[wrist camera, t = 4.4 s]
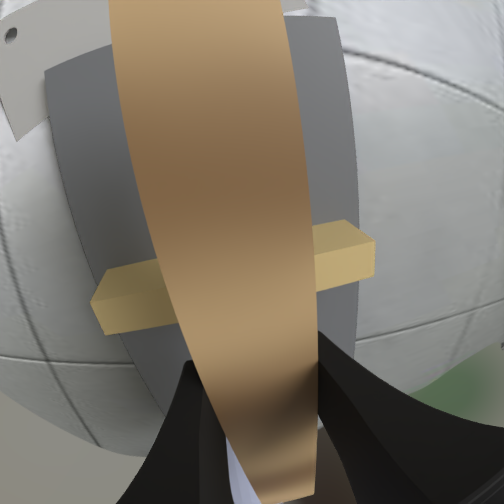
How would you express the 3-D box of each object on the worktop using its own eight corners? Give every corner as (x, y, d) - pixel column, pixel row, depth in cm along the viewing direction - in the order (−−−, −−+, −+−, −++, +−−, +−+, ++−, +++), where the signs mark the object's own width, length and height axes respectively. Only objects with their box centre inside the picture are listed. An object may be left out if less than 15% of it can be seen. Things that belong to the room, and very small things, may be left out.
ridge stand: (347, 367, 24) (369, 404, 20) (166, 409, 22) (166, 451, 18) (328, 22, 13) (366, -2, 9) (51, 73, 11) (11, 61, 7)
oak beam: (296, 443, 16) (313, 493, 13) (250, 454, 16) (263, 506, 12) (238, 10, 7) (266, -54, 3) (139, 27, 7) (106, -30, 3)
